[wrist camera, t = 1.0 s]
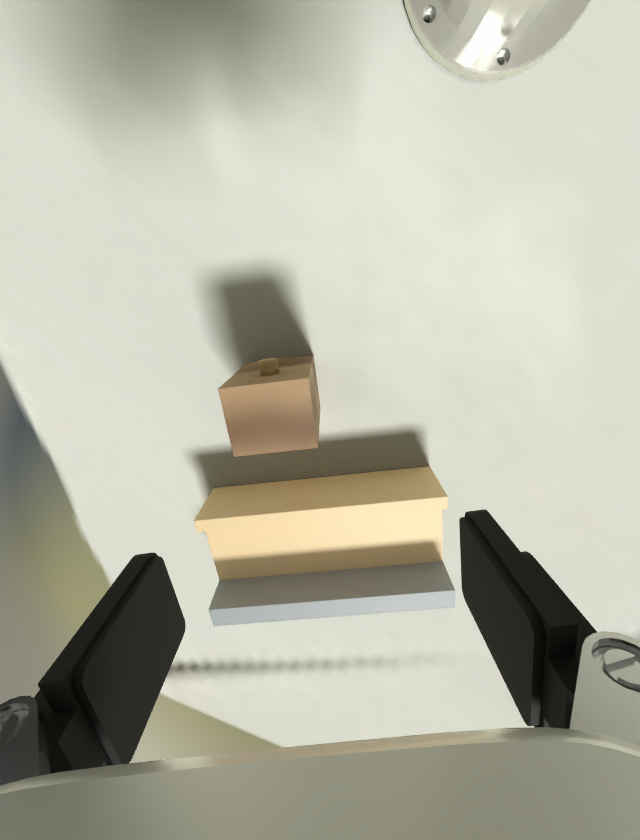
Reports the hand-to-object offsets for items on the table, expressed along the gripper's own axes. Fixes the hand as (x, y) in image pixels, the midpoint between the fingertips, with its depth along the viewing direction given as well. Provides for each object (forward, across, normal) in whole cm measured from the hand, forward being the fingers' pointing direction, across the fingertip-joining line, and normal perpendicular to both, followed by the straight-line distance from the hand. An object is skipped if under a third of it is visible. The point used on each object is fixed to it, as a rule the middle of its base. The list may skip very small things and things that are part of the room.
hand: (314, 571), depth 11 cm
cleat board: (+23, +1, +14) cm, 27 cm away
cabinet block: (+23, +3, -1) cm, 23 cm away
